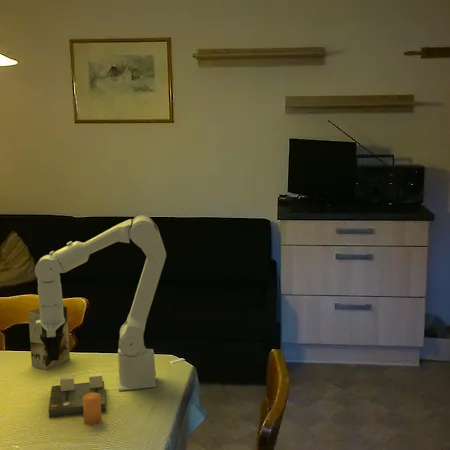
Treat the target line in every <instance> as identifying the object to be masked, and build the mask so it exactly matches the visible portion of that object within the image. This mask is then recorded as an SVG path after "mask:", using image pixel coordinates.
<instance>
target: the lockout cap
mask: <svg viewBox="0 0 450 450" xmlns="http://www.w3.org/2000/svg"><path fill="white" fill-rule="evenodd" d="M82 415H83V424H85V425H87V426H95V425H98V424H100V423H101V422H102V420H103V419H102V416H103V415H102V412H101V397H100V394H99V393H88V394H85V395H84V396H83V414H82Z"/></svg>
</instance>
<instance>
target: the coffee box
mask: <svg viewBox="0 0 450 450" xmlns="http://www.w3.org/2000/svg"><path fill="white" fill-rule="evenodd" d="M27 313H28V325H29V328H28V329H29V342H30V343H29V344H30V345H29V346H30V358H31V360H30V361H31V366H32V367H35V368H39V369H42V370H45V371H46V370H49V369H52V368H54V367H56V366H58V365H60V364H62V363H65V362H68V361H70V359H71V356H70V355H71V354H70V339H69V323H68V322H69V321H68V307H67V306H65V305H63V313H64V318H65V325H64V327H63V330H62V333H64V336H63V338H62V341H61V345H60V353H59V359H58V360H56V361H50V360H49V357H48V354H47V351H46V348H45V345H44V344H43V342H42V341H41V339H40V334H45V333H46V331H45V329H44V328H43V327H42V326H41V325H36V321H37V320H40V309H39V308H36V309H32V310H28V312H27Z"/></svg>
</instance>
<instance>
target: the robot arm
mask: <svg viewBox="0 0 450 450" xmlns="http://www.w3.org/2000/svg"><path fill="white" fill-rule="evenodd" d="M130 240H131V242H133V243H134V244H135V245H136V246H137V247H139V248H140V249H141V251H142V252H143V253H144V255H145V257H146V259H145V261H144V265H143V269H142V272H141V275H140V278H139V282H138V284H137V288H136V291H135V294H134V298H133V301H132V305H131V308H130V311H129V313H128V315H127V319H126V321H125V322H124V323H123V324H122V325H121V326H120V329H119V340H118V349H117V359H118V360H117V361H118V377H117V378H116V379H117V387H118V391H129V390H140V389H149V388H155V387H156V386H157V385H156V376H157V373H156V372H157V371H156V367H155V366H156V365H155V364H156V361H155V351H154V349H153V348H146V346H145V340H144V333H145V329H146V325H147V324H146V323H147V319H148V317H149V313H150V310H151V306H152V303H153V300H154V297H155V294H156V291H157V288H158V284H159V281H160V278H161V274H162V271H163V268H164V265H165V262H166V258H167V251H166V249H165V245H164V242H163V239H162V236H161V234H160V230H159V227H158V225H157V224H156V223H155V222H154V220H153V219H152V218H151V217H149V216H148V215H145V214H141V215H138V216H135V217H134V218H133V219H132V218H130V219H127V220H125V221H123V222H120V223H118V224H116V225H115V226H112V227H111V228H109V229H106V230H105V231H103V232H102V233H100V234H98V235H96V236H94V237H92V238H91V239H88V240H86V241H85V242H81V241H78V240H76V241H74V242H73V241H72V240H70V241H69V242H67V243H66V246H64V247H62V248H60V249H57V250H55V251H54V250H52V251H50V252H49V254H45V255H43V256H42V257H40V258H39V260H38V261H37V263H36V264H35V268H34V275H35V276H36V278H37V295H38V307H39V309H40V320H37V321H36V325H41V326H42V327H43V328H44V329H45V331H46V333H45V334H40V339H41V341H42V342H43V344H44V345H45V348H46V351H47V354H48V357H49V360H50V361H56V360H58V359H59V353H60V345H61V341H62V338H63V336H64V333H62V330H63V327H64V325H65V318H64V313H63V306H64V305H63V304H64V303H63V289H62V283H61V275H60V274H64V273H67V272H69V271H71V270H73V269H74V268H77V267H78V266H81V265H83V264H85V263H87V262H88V260H89V258H90V255H92V254H94V253H95V252H97V251H100V250H103V249H104V248H106V247H108V246H110V245H113V244H115V243H118V242H119V243H126V244H130Z"/></svg>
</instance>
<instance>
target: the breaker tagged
mask: <svg viewBox="0 0 450 450" xmlns="http://www.w3.org/2000/svg"><path fill="white" fill-rule="evenodd" d="M59 379H60V380H59V381H60V382H59V383H60V386H61V391H69V390H74V384H75V377H74V375H67V376H60V378H59Z"/></svg>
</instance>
